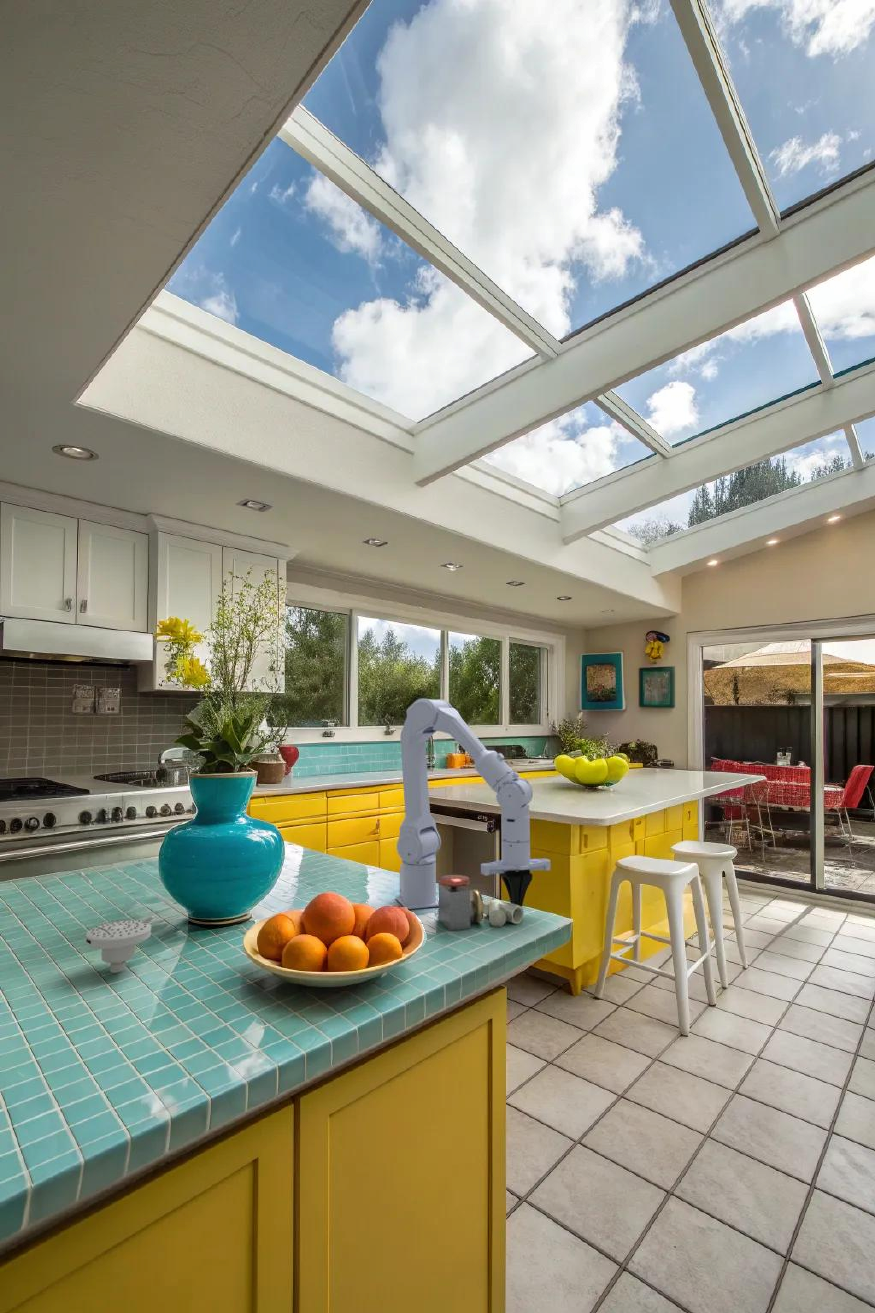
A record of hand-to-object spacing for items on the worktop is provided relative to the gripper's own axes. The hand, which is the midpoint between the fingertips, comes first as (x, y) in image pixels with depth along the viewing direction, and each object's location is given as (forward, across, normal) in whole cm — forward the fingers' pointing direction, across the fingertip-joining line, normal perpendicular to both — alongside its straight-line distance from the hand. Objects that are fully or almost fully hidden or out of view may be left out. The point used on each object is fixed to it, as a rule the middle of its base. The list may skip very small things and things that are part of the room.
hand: (516, 909), depth 132 cm
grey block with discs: (+2, -12, 0) cm, 12 cm away
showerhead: (+2, -72, -4) cm, 72 cm away
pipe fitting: (+2, -5, -1) cm, 5 cm away
